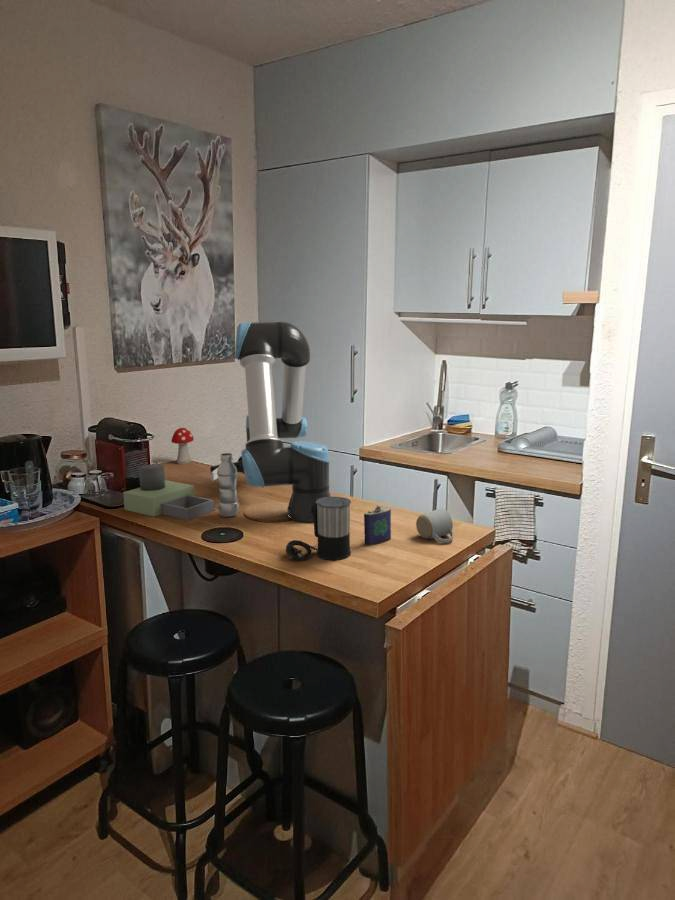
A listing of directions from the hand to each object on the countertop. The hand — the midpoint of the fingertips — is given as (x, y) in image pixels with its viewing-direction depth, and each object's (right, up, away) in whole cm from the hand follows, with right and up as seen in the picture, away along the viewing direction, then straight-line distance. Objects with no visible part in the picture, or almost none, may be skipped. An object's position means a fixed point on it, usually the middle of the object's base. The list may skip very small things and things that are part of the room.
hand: (232, 477), depth 218 cm
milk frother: (+29, -20, -39) cm, 52 cm away
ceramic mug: (+62, -16, -26) cm, 70 cm away
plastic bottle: (-1, -12, -4) cm, 13 cm away
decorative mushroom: (-32, +3, +69) cm, 76 cm away
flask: (+45, -17, -29) cm, 56 cm away
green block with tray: (-20, -11, +4) cm, 23 cm away
